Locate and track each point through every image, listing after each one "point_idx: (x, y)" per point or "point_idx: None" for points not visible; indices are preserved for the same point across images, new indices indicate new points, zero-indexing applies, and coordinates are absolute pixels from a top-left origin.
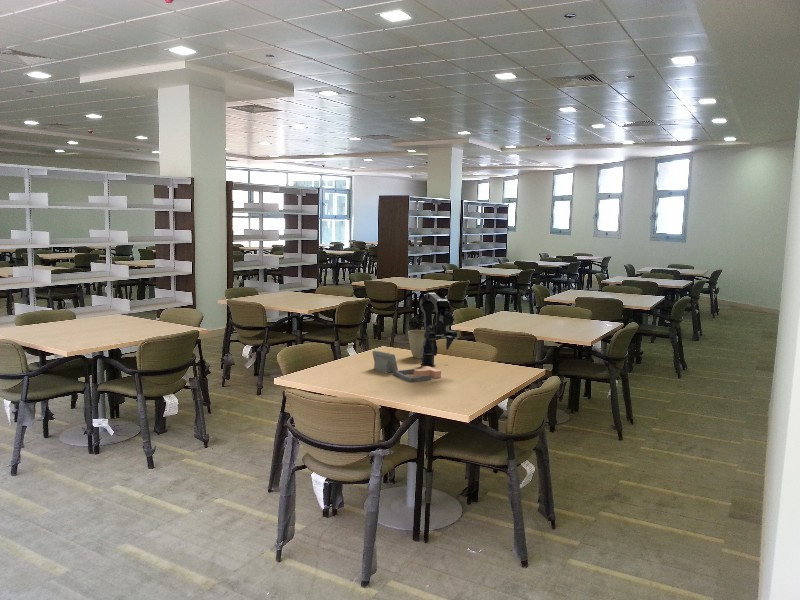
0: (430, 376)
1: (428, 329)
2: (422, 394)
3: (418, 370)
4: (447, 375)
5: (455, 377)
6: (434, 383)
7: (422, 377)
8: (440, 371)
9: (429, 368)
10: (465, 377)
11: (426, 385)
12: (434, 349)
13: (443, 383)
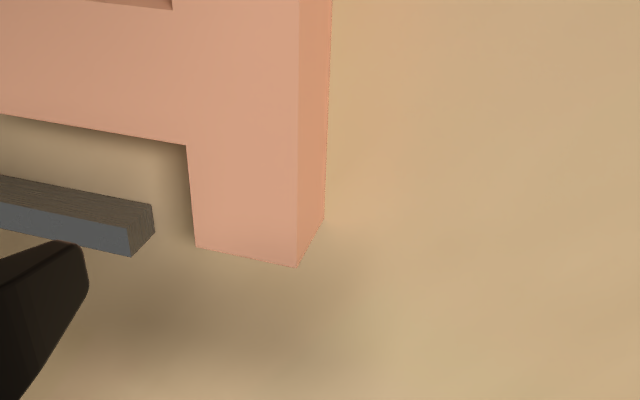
0: (124, 251)
1: None
2: None
3: (6, 74)
4: (469, 205)
5: (480, 326)
6: (123, 336)
7: (27, 229)
8: (288, 260)
9: (216, 59)
10: (595, 394)
11: None
12: (60, 336)
13: (199, 382)
